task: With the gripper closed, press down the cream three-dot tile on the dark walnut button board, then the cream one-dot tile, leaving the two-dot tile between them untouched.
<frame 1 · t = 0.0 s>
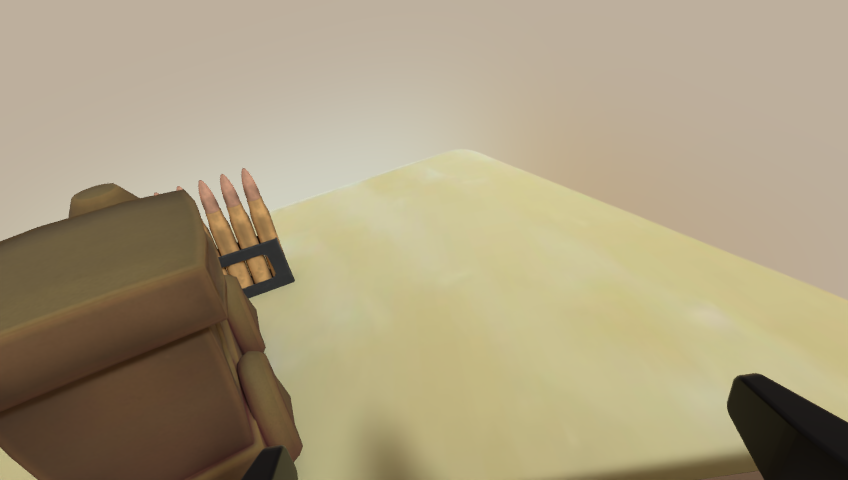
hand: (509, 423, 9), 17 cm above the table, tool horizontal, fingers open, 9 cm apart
ammunition clip: (239, 298, 44), on the table
wooden toy train: (207, 428, 31), on the table
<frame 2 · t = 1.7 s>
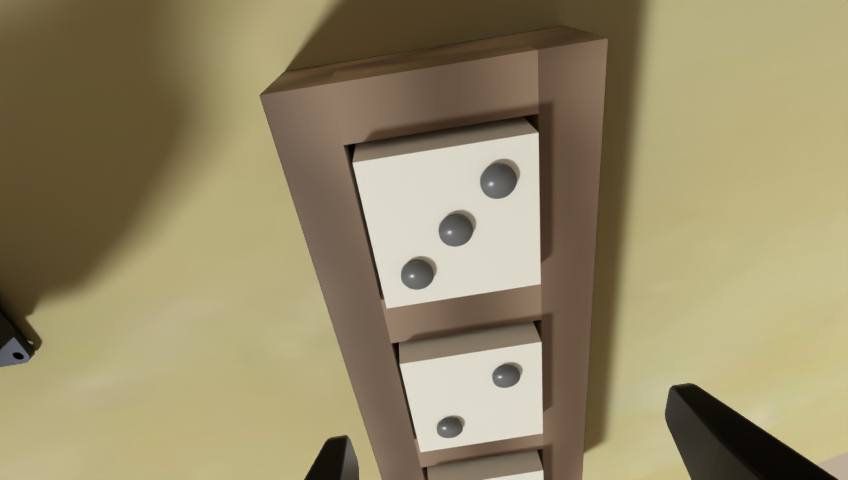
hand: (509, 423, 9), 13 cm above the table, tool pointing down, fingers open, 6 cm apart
two dot tile: (472, 380, 22), point 4 cm above the table, slide at 0.0 cm
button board: (460, 327, 25), on the table
three dot tile: (451, 213, 17), point 4 cm above the table, slide at 0.0 cm
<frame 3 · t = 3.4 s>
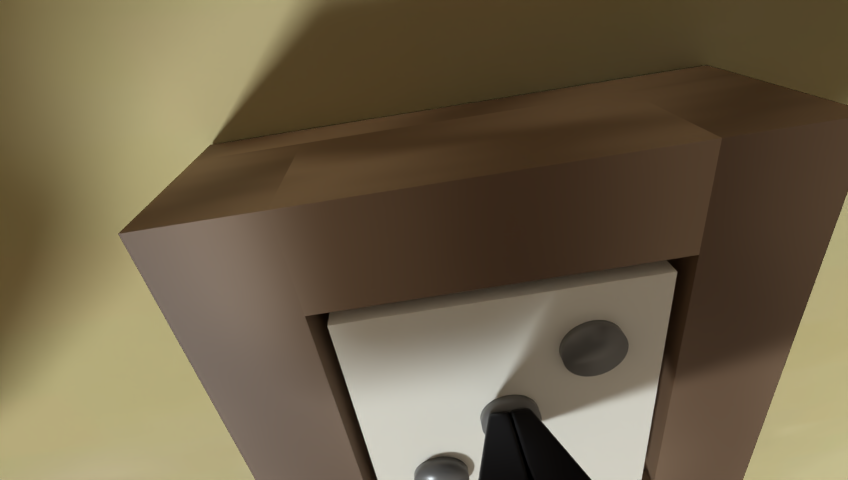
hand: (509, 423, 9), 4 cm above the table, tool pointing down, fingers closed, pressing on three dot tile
three dot tile: (497, 370, 10), point 3 cm above the table, slide at 1.0 cm, touching gripper
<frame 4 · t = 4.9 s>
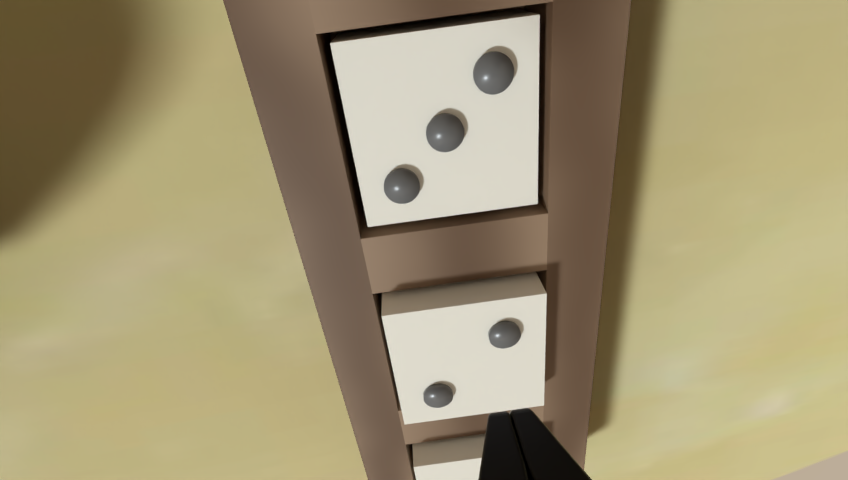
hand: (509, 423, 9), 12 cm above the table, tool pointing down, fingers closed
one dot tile: (477, 472, 24), point 4 cm above the table, slide at 0.0 cm
two dot tile: (465, 343, 19), point 4 cm above the table, slide at 0.0 cm
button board: (453, 289, 22), on the table
three dot tile: (440, 121, 16), point 3 cm above the table, slide at 1.2 cm
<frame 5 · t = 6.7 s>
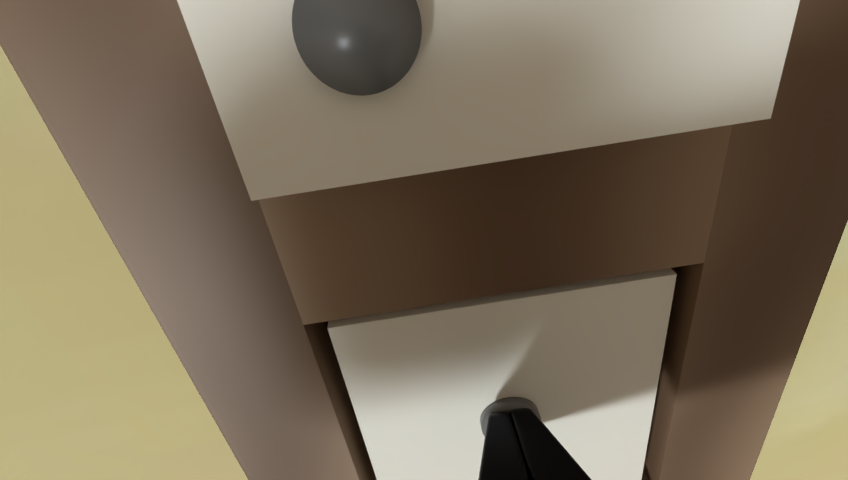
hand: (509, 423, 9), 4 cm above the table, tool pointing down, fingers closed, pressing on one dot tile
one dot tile: (497, 372, 10), point 3 cm above the table, slide at 1.2 cm, touching gripper
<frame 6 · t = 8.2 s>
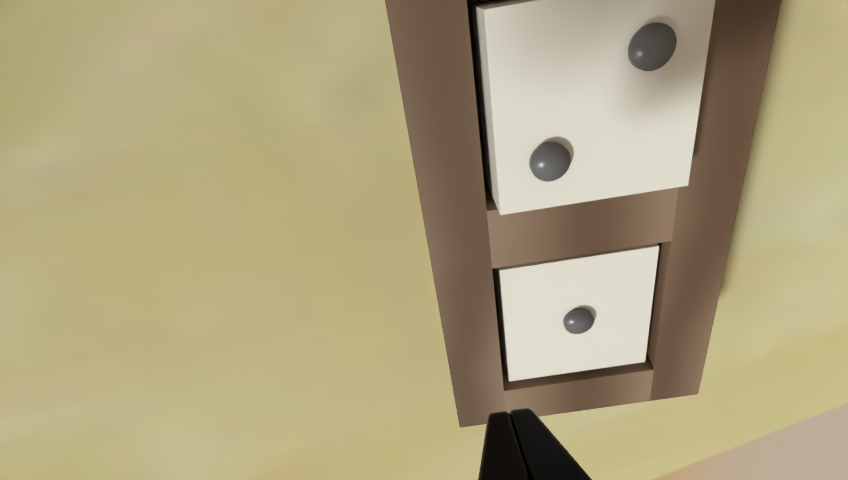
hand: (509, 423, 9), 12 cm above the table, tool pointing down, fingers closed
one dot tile: (568, 301, 20), point 3 cm above the table, slide at 1.2 cm
two dot tile: (582, 97, 14), point 4 cm above the table, slide at 0.0 cm
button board: (548, 74, 17), on the table
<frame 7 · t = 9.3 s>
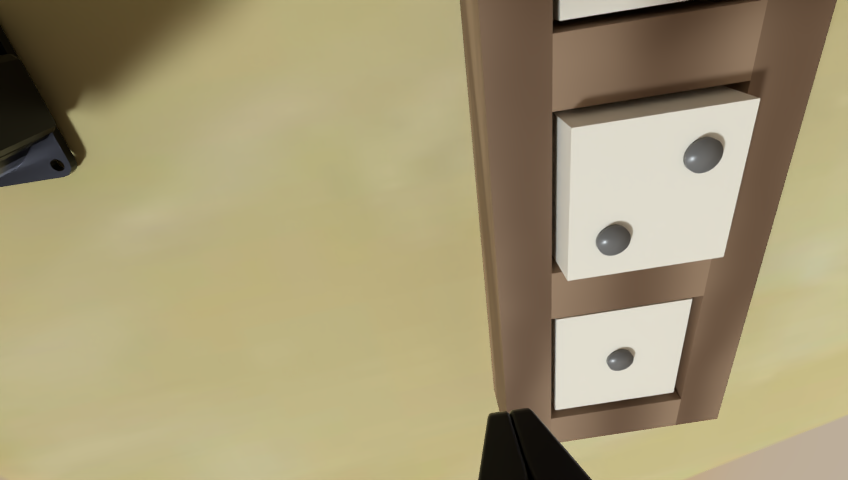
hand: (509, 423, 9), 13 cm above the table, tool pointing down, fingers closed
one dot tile: (608, 340, 23), point 3 cm above the table, slide at 1.2 cm
two dot tile: (638, 184, 17), point 4 cm above the table, slide at 0.0 cm
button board: (597, 150, 20), on the table
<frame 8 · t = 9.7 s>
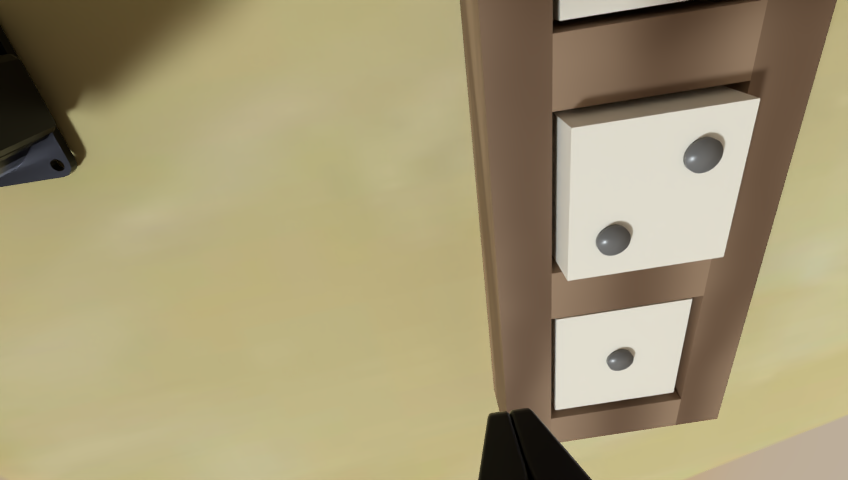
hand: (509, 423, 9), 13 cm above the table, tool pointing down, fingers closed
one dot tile: (608, 340, 23), point 3 cm above the table, slide at 1.2 cm
two dot tile: (638, 184, 17), point 4 cm above the table, slide at 0.0 cm
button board: (597, 150, 20), on the table
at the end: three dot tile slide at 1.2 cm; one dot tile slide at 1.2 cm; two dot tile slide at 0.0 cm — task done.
